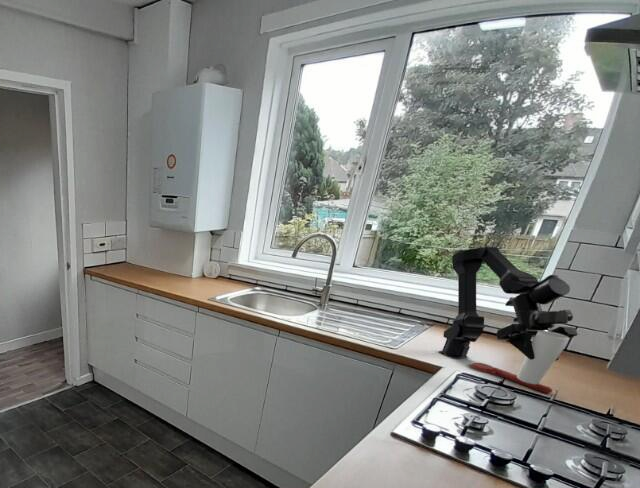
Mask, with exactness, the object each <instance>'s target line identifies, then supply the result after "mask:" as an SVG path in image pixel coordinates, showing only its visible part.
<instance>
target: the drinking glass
mask: <svg viewBox="0 0 640 488" xmlns="http://www.w3.org/2000/svg"><path fill="white" fill-rule="evenodd" d="M550 331H551V330H550ZM550 331H543V330H540V331H538V332H537V334H536V335H535V336H533V339H532V340H531V344H532V347H533V351H534V359H532V360H530V359H529V358H528V357H526V356H525V357H524V359H523V361H522V364H521V367H520V369H519V371H518V372H517V374H516V375H517V378H518V379H519V380H521V381H523V382H526V383H529V384H541V382H542V381H543V379H544V377H545V375H547V373H548V371H549V370H550V369H551V368H552V366H553V365H554V363H555V362H556V361H555V360H556V359H557V358H558V356H559V357H560V355H561V354H562V352H563V351H564V349H565V348H566V346H567V343H568V342H569V340H570V339H569V337H567V336H565V335H562V334H559V333H555V332H550Z"/></svg>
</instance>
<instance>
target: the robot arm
mask: <svg viewBox="0 0 640 488" xmlns="http://www.w3.org/2000/svg"><path fill="white" fill-rule="evenodd" d="M451 263H452V270H454V272H455V273H456V274H457V276H458V278H457V280H458V281H457V283H458V284H457V285H458V287H457V289H458V290H457V291H458V292H457V295H458V296H457V297H458V299H457V300H458V303H457V304H458V308H457V309H458V312H457V315H456V317H455V318H454V319H453V321H452V326H450V327H448V328H447V329H446V330H444V331H443V335H442V336H443V338H444V339H446V340H445V343H444V345H443V347H442V350H439V351H438V353H439V354H442V355H444V356H447V357H451V358H453V359H466V358H468V353H469V350H470V344H471V342H472V343H475V342H476V341H477V340H478V339H479V338H480V337H481V335H482V334H483V333H484V329H485V328H486V327H485V317H484V316H480V315H479V314H478V312H477V273H478V271H479V270H480V269H481V268H482V265H483V263H484V264H485V265H486V266H487V267H488V268H489V269H490V270H491V271H492V273H494V274H495V275H496V277H498V279H499V282H498V284H499V286H500V288H501V289H502V291H503V293H505V294H507V295H516V296H515V297H512V296H511V297H509V299H508V300H507V301H506V302H505V305H504V306H506V307H513V310H514V313H515V316H516V317H514V318H513V319H512V320H513V323H509V324H507V325H505V326H502V327H500V328H499V329H497V331H496V333H495V334H496V335H495V336H496V338H497V341H498V340H500V341H506V343H509V344H510V345H512V346H513V347H515V349H517V350H518V351H519V352H521V353H522V354H523V355H524V356H525V357H528V358H529V359H530V360H532V359H534V351H533V347H532V344H531V343H532V338H533V337H535V335H536V334H537V332H538V331H540V330H543V331H550V332H555V333H559V334H562V335H565V336H567V337H569V340H570V339H572V338H574V337H577V336H578V331H577V329H576V328H575V327H573V326H557V327H556V328H554V327H555V325H558V324H559V325H560V324H563V325H565V324H566V325H567V324H568V322H571V321H573V319H574V314H573V312H572V310H571V309H563V310H552V311H547V310H543V309H542V306H541V305H544V306H545V305H548V304H550V303H553V302H554V301H556V300H558V299H560V298H562V297H564V296H566V295H568V294H569V293H570V291H571V287H570V284H568V283H567V281H565V280H563V279H561V278H559V275H558V274H549V275H547V276H546V277H545V278H544V279H542V280H540V281H538V278H537V277H536V276H534V275H532V274H531V273H529V272H527V271H523V270H521V269H518V267H516V266H515V265H514V263H512V262H511V261H510V260H509V259H508V258H507V257H506V256H505V255H504V254H503V253H502V252H501V251H500V249H499V248H498V247H497V246H486V245H483V246H480V247H476V248H469V249H458V250H457V251H456V252H455V253H453V255H452V256H451ZM549 329H551V330H549ZM559 358H560V355H559V356H558V358H557V359H556V360H555V362H556V361H558V360H559Z"/></svg>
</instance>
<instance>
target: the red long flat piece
mask: <svg viewBox="0 0 640 488" xmlns="http://www.w3.org/2000/svg"><path fill="white" fill-rule="evenodd" d="M470 366H471V368H472V369H474V370H476V371H479V372H483V373H490V374H491V375H495V376H498V377H502V378H504V379H507V380H509V381H513V382H515V383H517V384H520V385H523V386H526V387H528V388H531V389H533V390H536V391H539V392H541V393H544V394H550V393H552V392H553V388H552V387H550V386H548V385H544V384H542V383H539V384H529V383H526V382H523V381H521V380H519V379H518V378H517V375H518V374H514V373H512V372H509V371H506V370H504V369H501V368H498V367H494V366H492V365H491V364H486V363H483V362H472V363H471V365H470Z"/></svg>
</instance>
